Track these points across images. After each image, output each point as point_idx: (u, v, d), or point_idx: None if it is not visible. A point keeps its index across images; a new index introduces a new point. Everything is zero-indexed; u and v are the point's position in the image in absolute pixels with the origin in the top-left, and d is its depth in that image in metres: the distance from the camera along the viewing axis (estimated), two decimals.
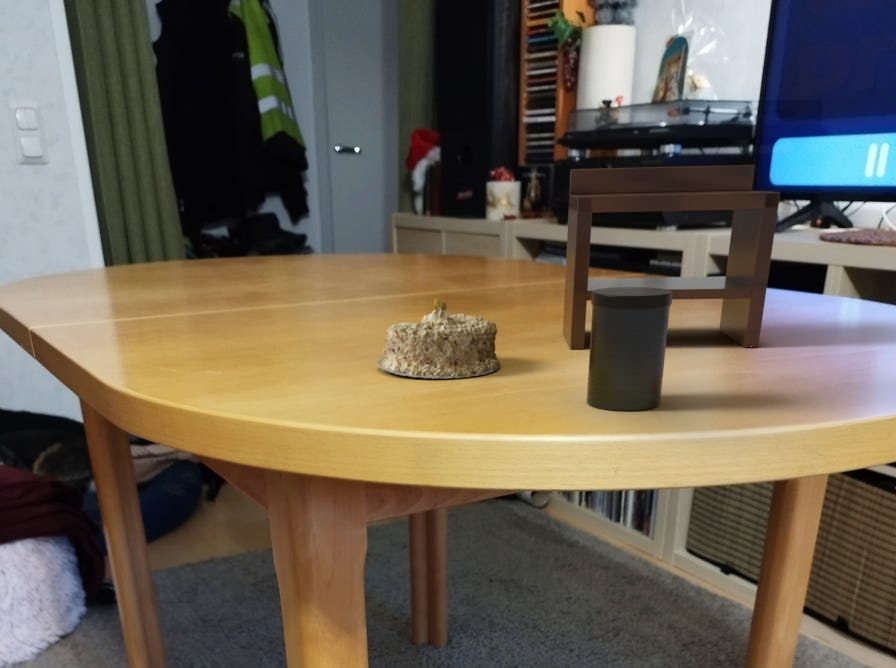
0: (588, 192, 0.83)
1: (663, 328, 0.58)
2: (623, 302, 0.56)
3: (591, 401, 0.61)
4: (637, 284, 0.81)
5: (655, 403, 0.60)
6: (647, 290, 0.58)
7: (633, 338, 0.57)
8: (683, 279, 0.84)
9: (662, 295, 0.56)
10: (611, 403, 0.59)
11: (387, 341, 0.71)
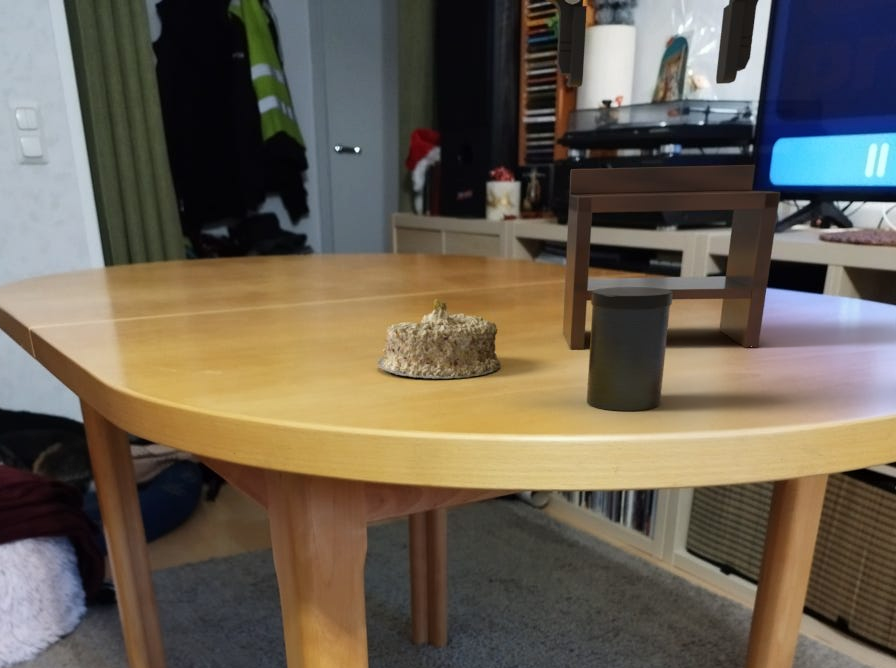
0: (588, 192, 0.83)
1: (663, 328, 0.58)
2: (623, 302, 0.56)
3: (591, 401, 0.61)
4: (637, 284, 0.81)
5: (655, 403, 0.60)
6: (647, 290, 0.58)
7: (633, 338, 0.57)
8: (683, 279, 0.84)
9: (662, 295, 0.56)
10: (611, 403, 0.59)
11: (387, 341, 0.71)
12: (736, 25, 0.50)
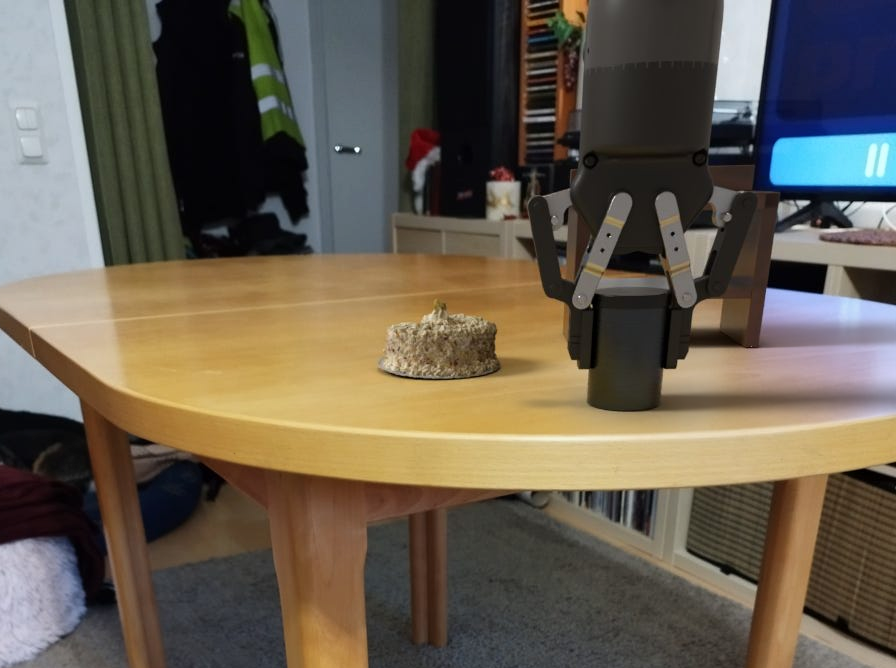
0: None
1: (663, 328, 0.58)
2: (623, 302, 0.56)
3: (591, 401, 0.61)
4: (637, 284, 0.81)
5: (655, 403, 0.60)
6: (647, 290, 0.58)
7: (632, 338, 0.57)
8: None
9: (662, 295, 0.56)
10: (612, 403, 0.59)
11: (387, 341, 0.71)
12: (675, 328, 0.58)
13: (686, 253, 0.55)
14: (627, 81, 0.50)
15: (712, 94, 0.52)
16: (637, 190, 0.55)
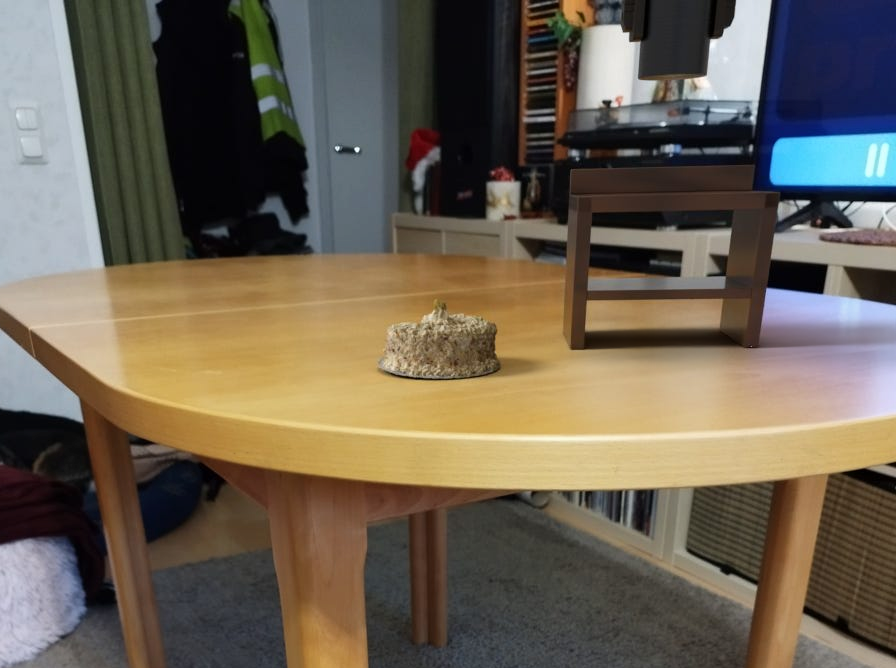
0: (588, 192, 0.83)
1: None
2: None
3: (643, 72, 0.65)
4: (637, 284, 0.81)
5: (703, 69, 0.64)
6: None
7: None
8: (683, 279, 0.84)
9: None
10: (663, 68, 0.64)
11: (387, 341, 0.71)
12: None
13: None
14: None
15: None
16: None
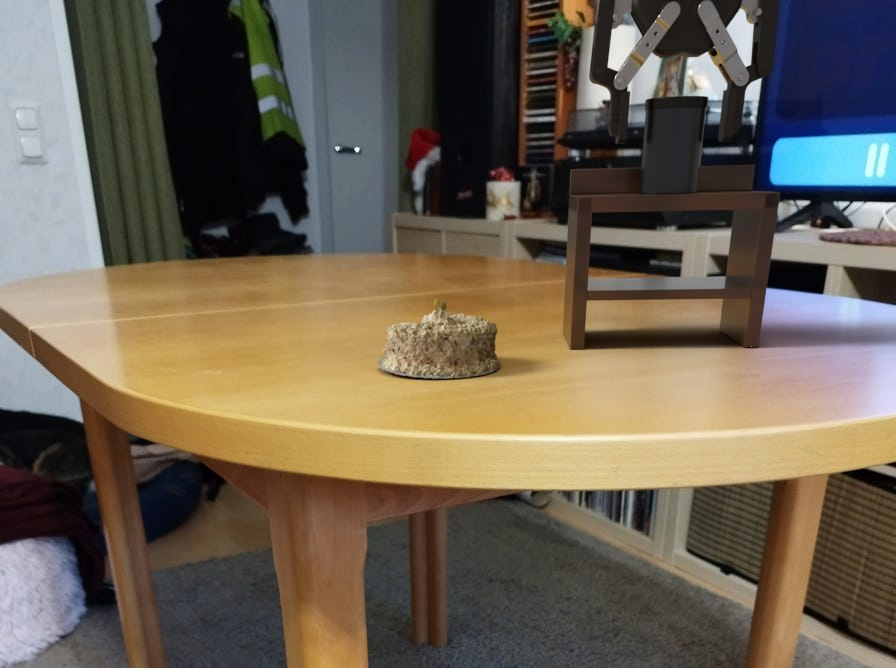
0: (588, 192, 0.83)
1: (701, 125, 0.75)
2: (671, 102, 0.74)
3: (643, 190, 0.78)
4: (637, 284, 0.81)
5: (694, 189, 0.77)
6: None
7: (678, 131, 0.74)
8: (683, 279, 0.84)
9: (701, 96, 0.74)
10: (660, 188, 0.77)
11: (387, 341, 0.71)
12: (732, 104, 0.74)
13: (732, 42, 0.72)
14: None
15: None
16: (683, 1, 0.72)
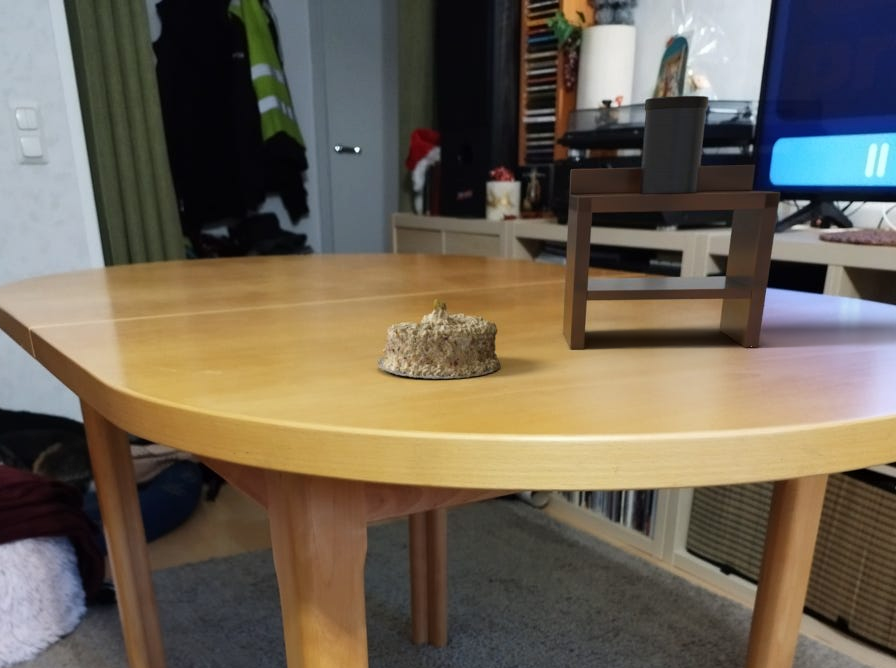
0: (588, 192, 0.83)
1: (701, 125, 0.75)
2: (671, 102, 0.74)
3: (643, 190, 0.78)
4: (637, 284, 0.81)
5: (694, 189, 0.77)
6: None
7: (678, 131, 0.74)
8: (683, 279, 0.84)
9: (701, 96, 0.74)
10: (660, 188, 0.77)
11: (387, 341, 0.71)
12: None
13: None
14: None
15: None
16: None
